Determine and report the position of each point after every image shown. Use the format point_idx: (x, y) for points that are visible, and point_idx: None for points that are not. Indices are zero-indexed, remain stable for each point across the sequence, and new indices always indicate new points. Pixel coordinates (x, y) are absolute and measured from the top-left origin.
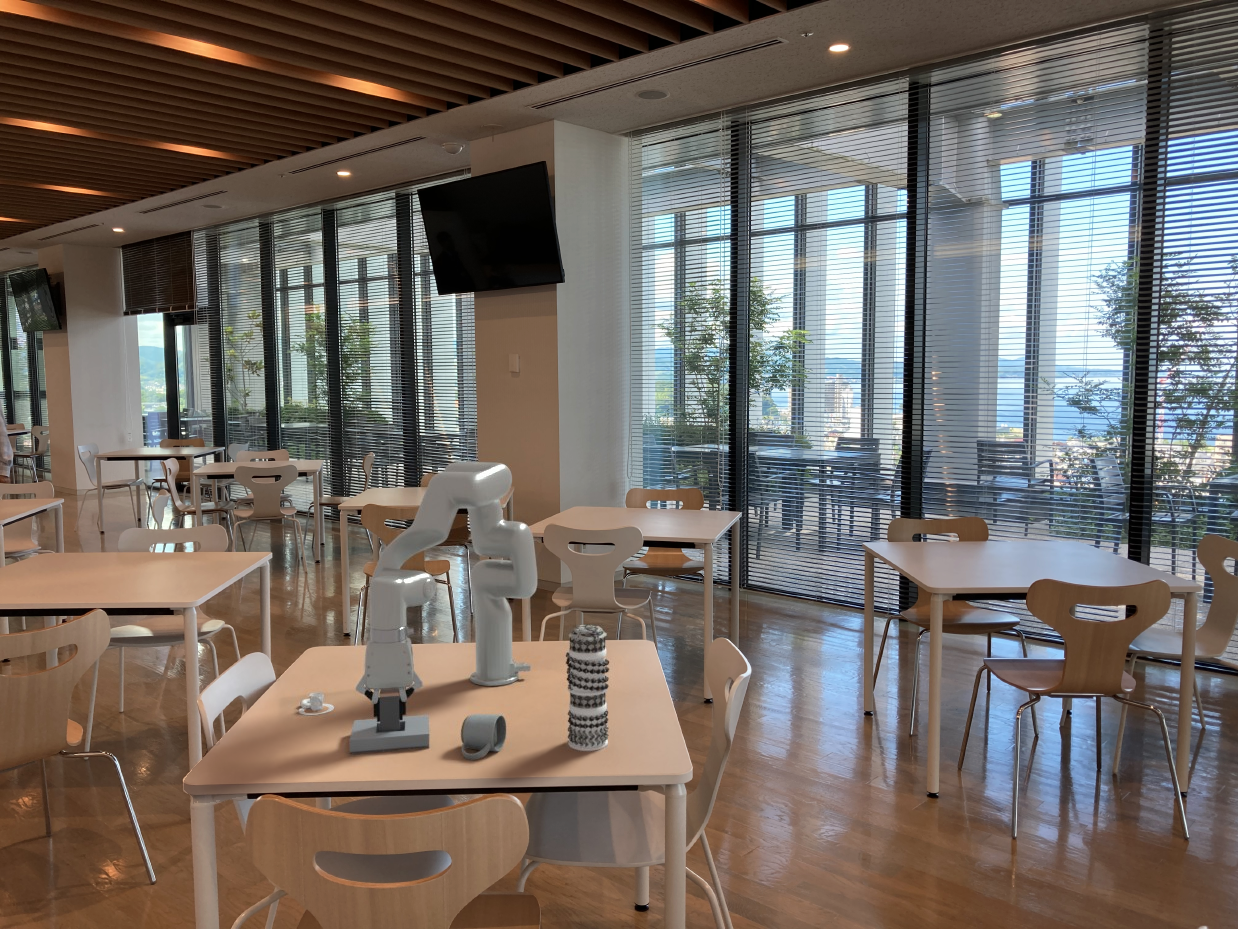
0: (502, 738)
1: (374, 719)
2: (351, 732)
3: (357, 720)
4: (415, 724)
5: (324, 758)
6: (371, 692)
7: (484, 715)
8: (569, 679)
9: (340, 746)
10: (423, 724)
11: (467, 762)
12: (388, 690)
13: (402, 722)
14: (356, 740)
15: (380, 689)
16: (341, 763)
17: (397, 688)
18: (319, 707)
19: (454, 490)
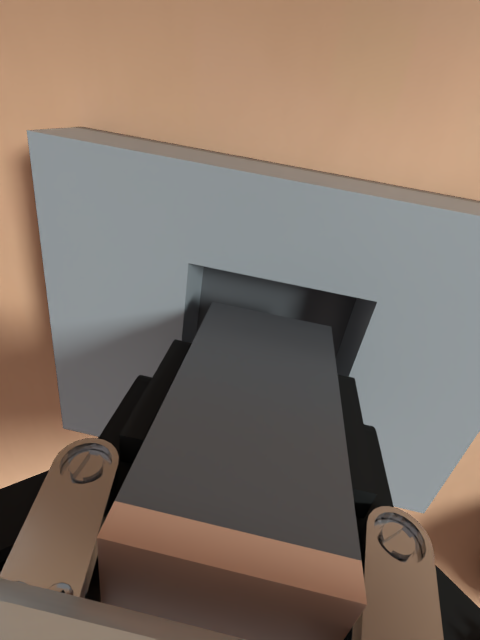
0: None
1: (172, 175)
2: (53, 346)
3: (51, 142)
4: (415, 383)
5: (9, 378)
6: (9, 548)
7: None
8: None
9: (42, 286)
10: (460, 401)
11: (471, 588)
12: (200, 622)
13: (356, 294)
14: (94, 432)
15: (100, 563)
16: (78, 438)
17: (326, 621)
18: None
19: None
